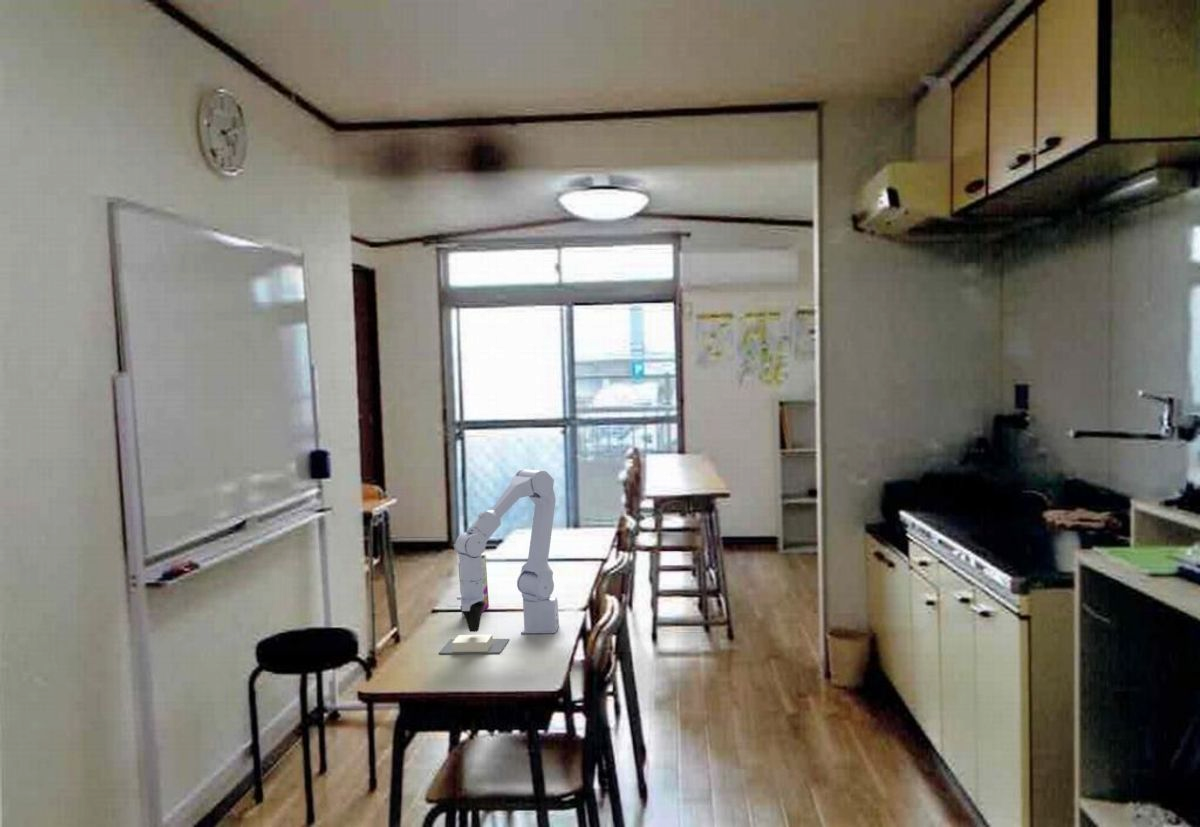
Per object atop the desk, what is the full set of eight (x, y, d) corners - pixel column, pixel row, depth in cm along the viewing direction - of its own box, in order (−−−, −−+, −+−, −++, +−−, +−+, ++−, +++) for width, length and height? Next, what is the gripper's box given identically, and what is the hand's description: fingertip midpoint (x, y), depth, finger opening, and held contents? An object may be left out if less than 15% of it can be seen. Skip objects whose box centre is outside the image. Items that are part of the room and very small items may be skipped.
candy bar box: (473, 607, 268) (470, 553, 267) (489, 607, 267) (486, 553, 266) (460, 617, 257) (457, 562, 256) (476, 617, 256) (474, 562, 255)
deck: (492, 634, 230) (486, 642, 224) (492, 643, 230) (487, 651, 224) (458, 635, 231) (452, 642, 224) (459, 644, 231) (452, 652, 225)
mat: (509, 640, 234) (509, 638, 234) (500, 653, 223) (500, 652, 223) (450, 640, 236) (450, 639, 236) (438, 654, 225) (438, 652, 225)
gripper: (463, 572, 236) (466, 622, 237) (448, 586, 222) (451, 639, 222) (489, 572, 235) (491, 622, 236) (476, 586, 221) (478, 639, 222)
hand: (474, 630), depth 229 cm, fingers closed
